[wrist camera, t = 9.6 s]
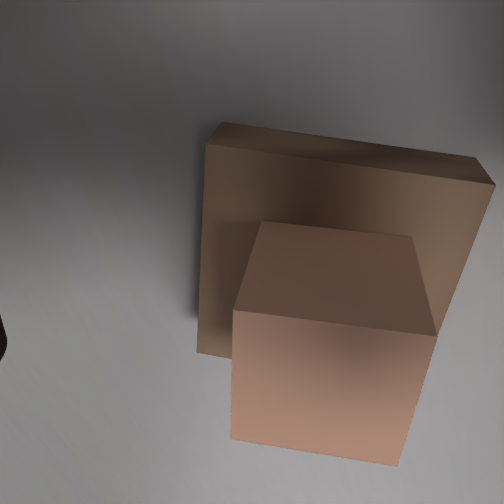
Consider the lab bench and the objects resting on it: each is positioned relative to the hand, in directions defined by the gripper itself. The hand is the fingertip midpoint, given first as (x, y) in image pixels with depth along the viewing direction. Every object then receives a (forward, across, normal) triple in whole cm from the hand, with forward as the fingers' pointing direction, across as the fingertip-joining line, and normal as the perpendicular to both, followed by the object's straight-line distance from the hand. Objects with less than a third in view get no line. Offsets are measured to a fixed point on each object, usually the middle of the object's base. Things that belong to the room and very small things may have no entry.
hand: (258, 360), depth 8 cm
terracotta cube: (+9, -1, +4) cm, 10 cm away
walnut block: (+12, -1, +4) cm, 13 cm away
